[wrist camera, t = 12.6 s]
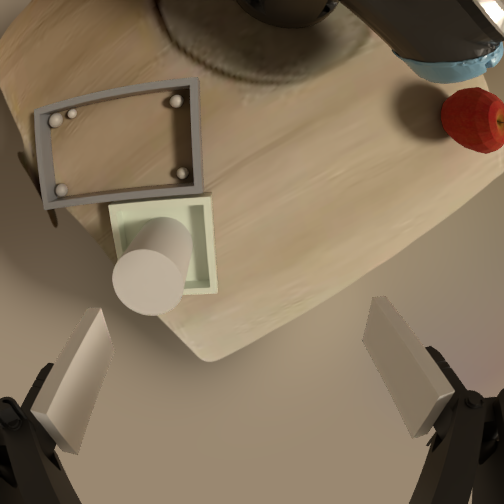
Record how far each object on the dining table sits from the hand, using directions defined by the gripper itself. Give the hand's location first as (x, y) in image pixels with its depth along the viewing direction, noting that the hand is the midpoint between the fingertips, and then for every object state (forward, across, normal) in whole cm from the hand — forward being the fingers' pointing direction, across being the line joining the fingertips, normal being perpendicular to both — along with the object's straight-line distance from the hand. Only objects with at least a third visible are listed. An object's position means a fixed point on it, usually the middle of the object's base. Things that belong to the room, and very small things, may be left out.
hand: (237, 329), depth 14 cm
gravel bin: (+30, -16, +8) cm, 35 cm away
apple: (+31, +36, +13) cm, 49 cm away
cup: (+29, -10, -7) cm, 32 cm away
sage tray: (+30, -10, -7) cm, 32 cm away
